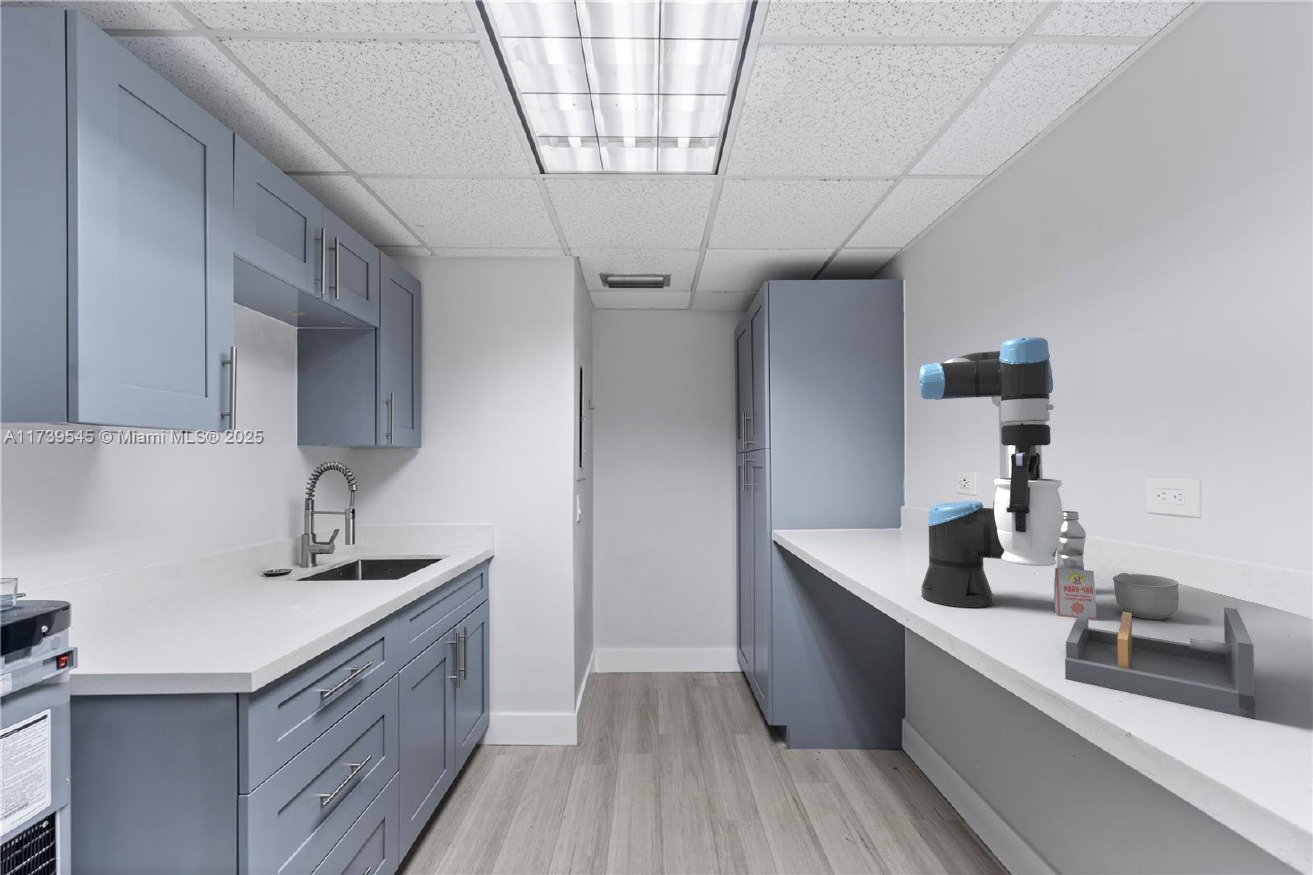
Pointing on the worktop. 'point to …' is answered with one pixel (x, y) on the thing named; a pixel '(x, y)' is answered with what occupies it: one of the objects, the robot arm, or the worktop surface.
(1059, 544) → the plastic bottle
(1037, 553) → the jar
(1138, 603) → the teacup
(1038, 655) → the worktop surface
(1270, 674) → the worktop surface
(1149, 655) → the tray
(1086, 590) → the white red carton
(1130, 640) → the plate
